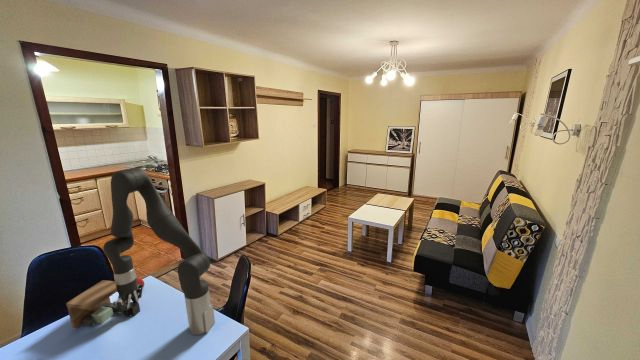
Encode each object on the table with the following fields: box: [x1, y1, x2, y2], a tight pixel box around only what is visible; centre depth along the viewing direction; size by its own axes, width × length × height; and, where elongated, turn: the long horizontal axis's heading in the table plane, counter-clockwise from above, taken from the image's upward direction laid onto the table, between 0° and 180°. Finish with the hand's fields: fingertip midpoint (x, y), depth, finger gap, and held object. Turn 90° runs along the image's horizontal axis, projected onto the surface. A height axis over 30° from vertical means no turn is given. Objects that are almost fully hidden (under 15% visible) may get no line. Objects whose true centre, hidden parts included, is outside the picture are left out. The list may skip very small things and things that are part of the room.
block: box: [92, 307, 114, 324], centre depth 117 cm, size 5×5×4 cm
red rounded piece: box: [136, 276, 145, 288], centre depth 135 cm, size 6×6×8 cm
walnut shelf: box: [65, 279, 118, 330], centre depth 117 cm, size 12×16×12 cm
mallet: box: [81, 301, 141, 328], centre depth 117 cm, size 18×12×4 cm
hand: (132, 311), depth 121 cm, fingers closed on mallet, 3 cm apart
